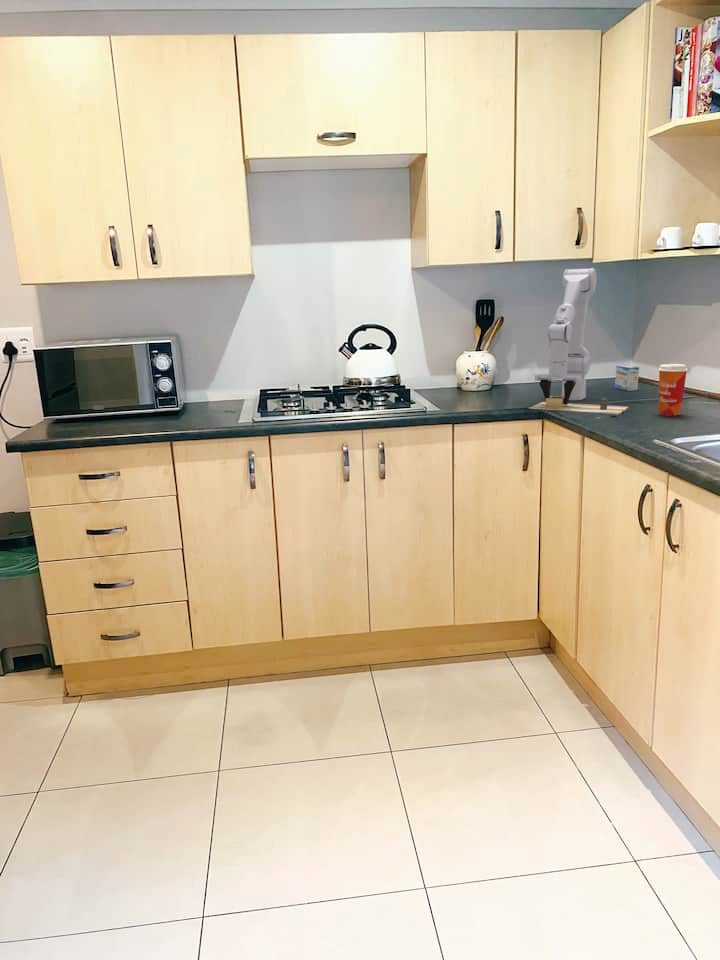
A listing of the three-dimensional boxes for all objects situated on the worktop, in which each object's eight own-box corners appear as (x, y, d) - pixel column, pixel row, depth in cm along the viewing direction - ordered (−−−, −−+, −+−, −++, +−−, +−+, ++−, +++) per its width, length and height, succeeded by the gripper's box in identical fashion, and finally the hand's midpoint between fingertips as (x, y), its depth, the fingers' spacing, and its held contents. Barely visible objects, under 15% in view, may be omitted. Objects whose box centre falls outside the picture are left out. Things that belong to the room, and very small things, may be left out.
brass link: (551, 404, 238) (551, 395, 237) (567, 405, 235) (567, 396, 234) (545, 406, 234) (545, 398, 233) (562, 407, 231) (562, 399, 230)
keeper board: (542, 404, 244) (543, 391, 243) (628, 409, 229) (629, 395, 228) (528, 411, 233) (528, 397, 232) (617, 417, 218) (618, 402, 217)
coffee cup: (648, 413, 222) (652, 364, 218) (670, 411, 224) (673, 362, 220) (669, 418, 214) (673, 367, 210) (690, 415, 217) (695, 365, 213)
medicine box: (614, 388, 274) (615, 365, 271) (624, 387, 275) (625, 364, 273) (627, 391, 266) (629, 367, 264) (637, 390, 268) (639, 366, 265)
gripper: (532, 362, 231) (530, 404, 235) (577, 363, 224) (575, 406, 227) (539, 360, 237) (538, 400, 241) (583, 361, 229) (581, 403, 233)
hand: (556, 403), depth 234 cm, fingers closed on brass link, 5 cm apart
